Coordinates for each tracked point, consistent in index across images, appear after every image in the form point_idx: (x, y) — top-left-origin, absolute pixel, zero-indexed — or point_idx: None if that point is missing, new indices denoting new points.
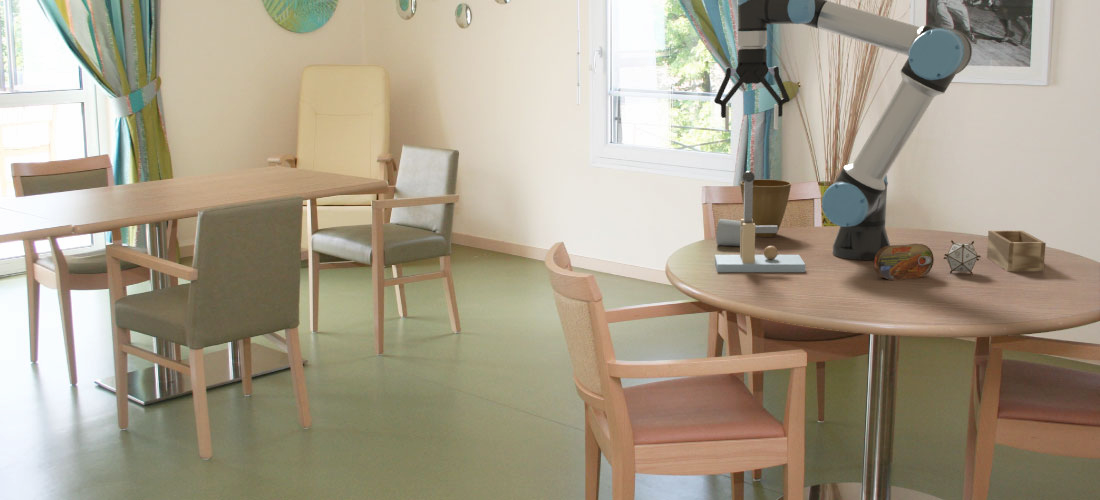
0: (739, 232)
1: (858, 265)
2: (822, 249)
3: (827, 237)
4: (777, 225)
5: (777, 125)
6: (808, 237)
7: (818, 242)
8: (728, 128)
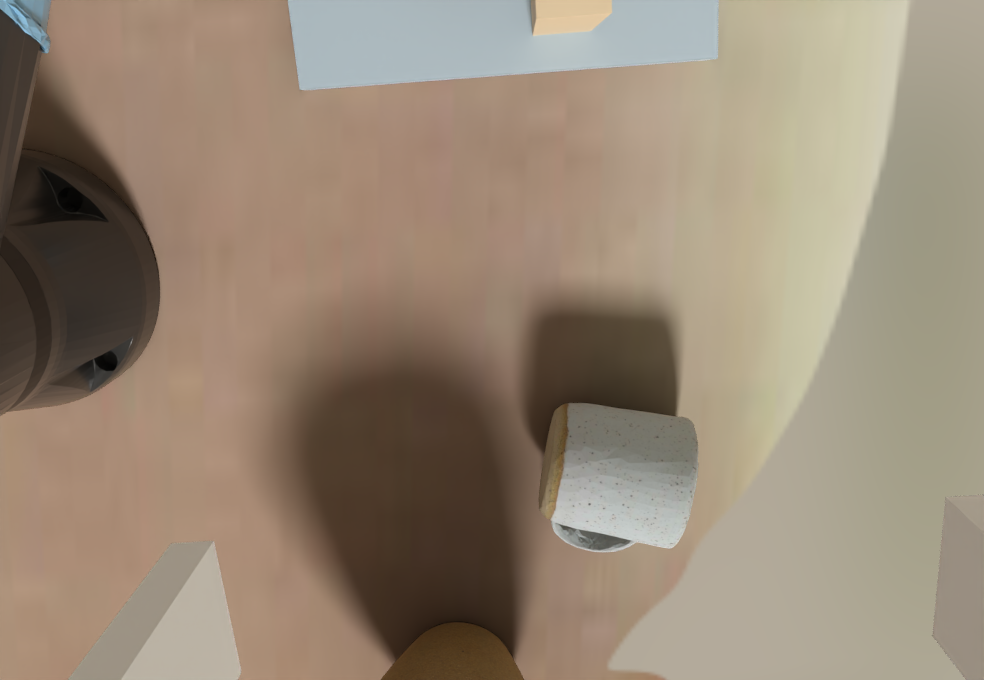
0: (582, 417)
1: None
2: (208, 380)
3: None
4: (396, 661)
5: (153, 578)
6: (272, 620)
7: (228, 523)
8: (967, 513)
